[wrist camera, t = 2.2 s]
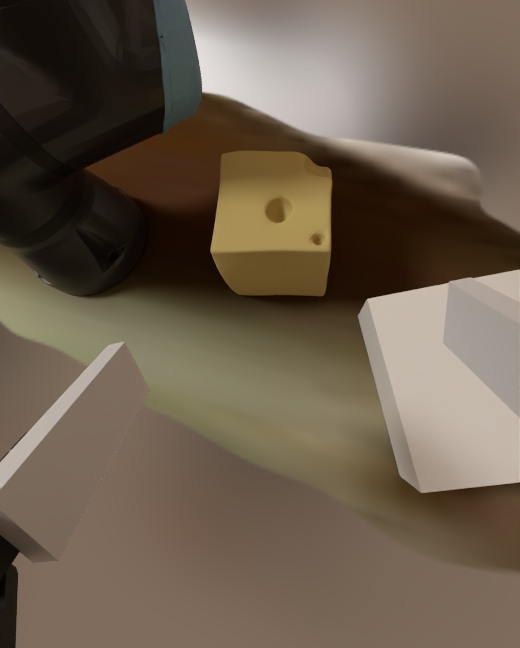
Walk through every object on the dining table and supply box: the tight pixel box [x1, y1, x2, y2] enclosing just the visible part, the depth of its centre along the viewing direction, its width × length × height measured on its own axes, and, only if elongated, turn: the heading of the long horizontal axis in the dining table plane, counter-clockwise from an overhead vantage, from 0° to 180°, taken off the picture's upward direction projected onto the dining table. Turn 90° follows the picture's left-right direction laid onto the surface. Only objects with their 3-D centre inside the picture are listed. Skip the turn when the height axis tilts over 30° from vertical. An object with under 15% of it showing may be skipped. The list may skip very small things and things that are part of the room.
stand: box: [358, 270, 520, 493], centre depth 24 cm, size 15×15×5 cm
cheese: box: [211, 151, 332, 296], centre depth 28 cm, size 10×11×10 cm
